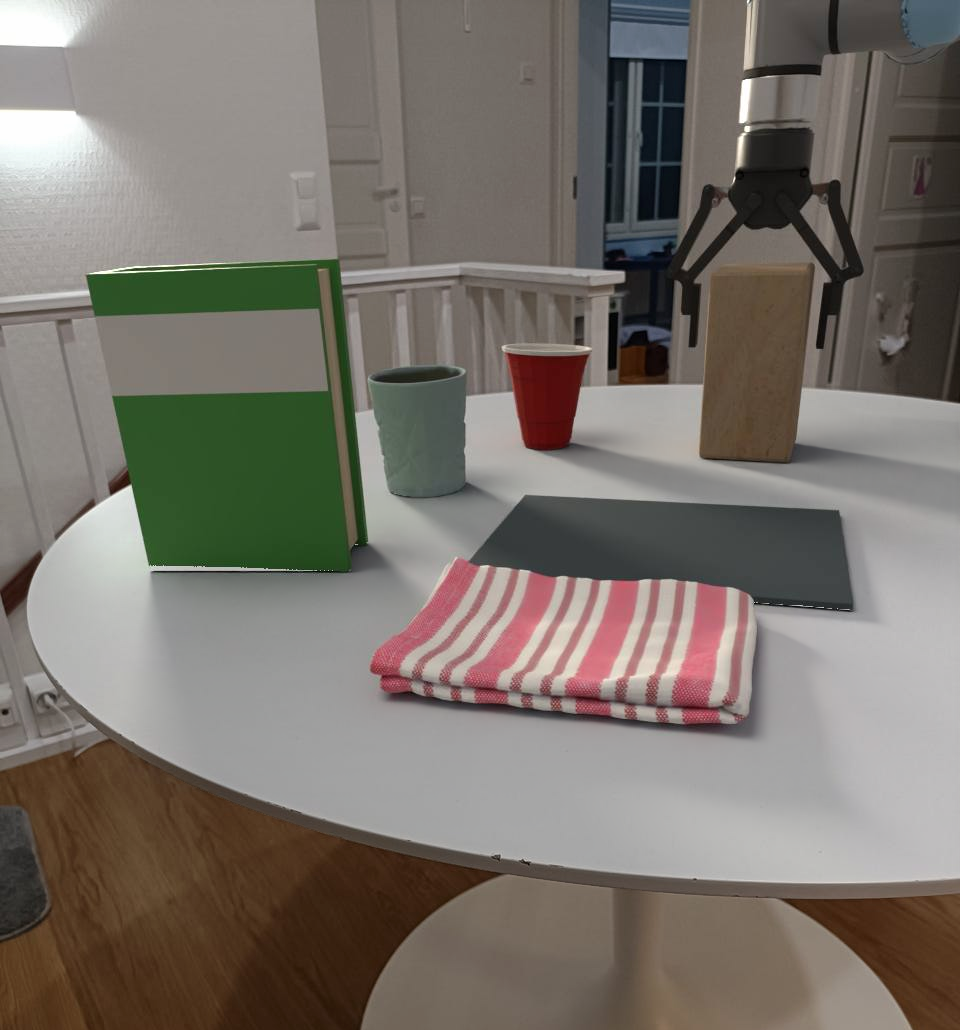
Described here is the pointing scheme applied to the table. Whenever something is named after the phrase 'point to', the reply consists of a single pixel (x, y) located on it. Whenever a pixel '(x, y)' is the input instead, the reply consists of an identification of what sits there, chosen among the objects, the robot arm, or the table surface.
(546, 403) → the plastic cup
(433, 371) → the green ceramic cup
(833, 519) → the mat
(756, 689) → the table surface
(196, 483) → the hardback book
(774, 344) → the wooden block
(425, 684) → the dish towel
